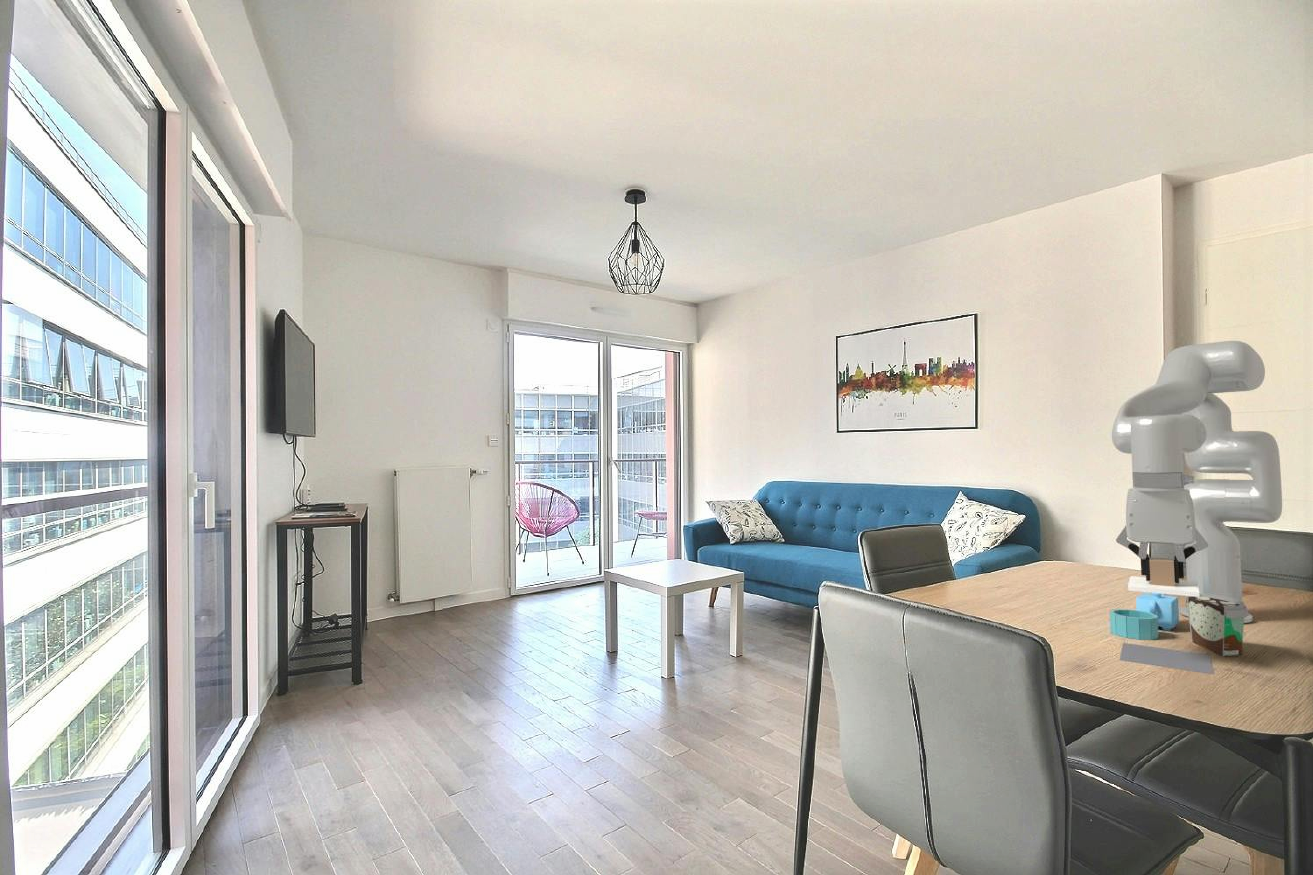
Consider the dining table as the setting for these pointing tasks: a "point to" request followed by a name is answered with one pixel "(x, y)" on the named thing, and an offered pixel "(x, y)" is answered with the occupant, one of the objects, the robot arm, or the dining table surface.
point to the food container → (1217, 623)
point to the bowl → (1134, 624)
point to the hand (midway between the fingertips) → (1162, 579)
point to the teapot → (1160, 608)
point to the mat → (1167, 658)
